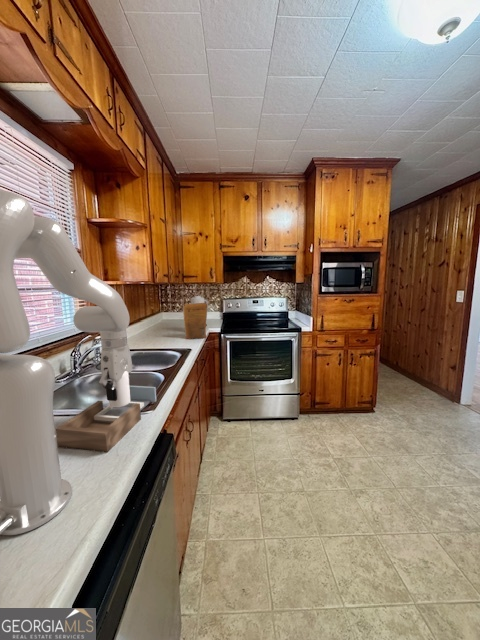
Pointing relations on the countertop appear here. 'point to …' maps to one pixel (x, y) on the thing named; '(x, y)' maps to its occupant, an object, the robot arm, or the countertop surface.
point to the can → (121, 391)
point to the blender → (198, 301)
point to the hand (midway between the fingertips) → (118, 394)
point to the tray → (137, 395)
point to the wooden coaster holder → (96, 429)
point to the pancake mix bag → (195, 320)
